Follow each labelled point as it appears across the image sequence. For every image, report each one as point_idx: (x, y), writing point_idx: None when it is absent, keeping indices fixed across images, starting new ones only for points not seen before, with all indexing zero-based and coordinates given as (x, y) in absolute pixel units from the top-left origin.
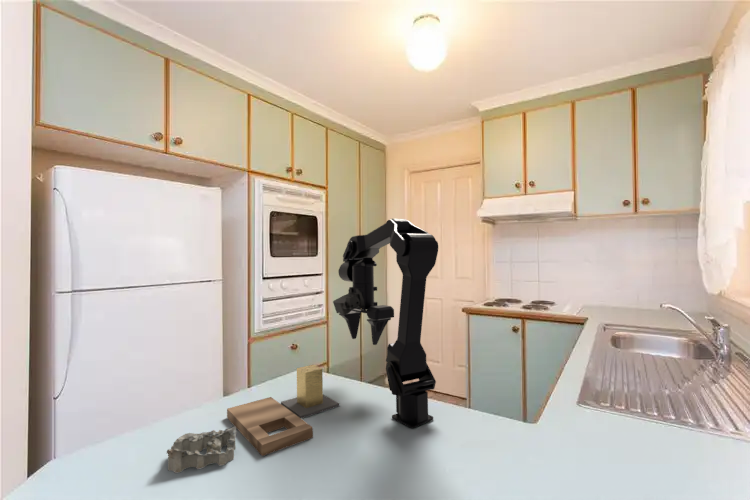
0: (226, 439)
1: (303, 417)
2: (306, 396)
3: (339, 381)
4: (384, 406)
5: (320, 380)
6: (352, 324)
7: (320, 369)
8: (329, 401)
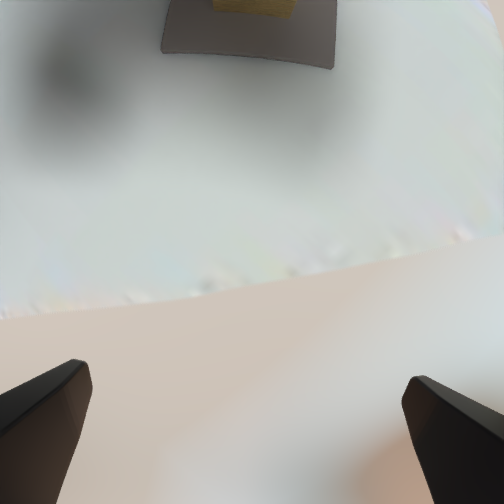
0: None
1: None
2: None
3: (375, 226)
4: (50, 178)
5: None
6: (487, 471)
7: None
8: (206, 33)
